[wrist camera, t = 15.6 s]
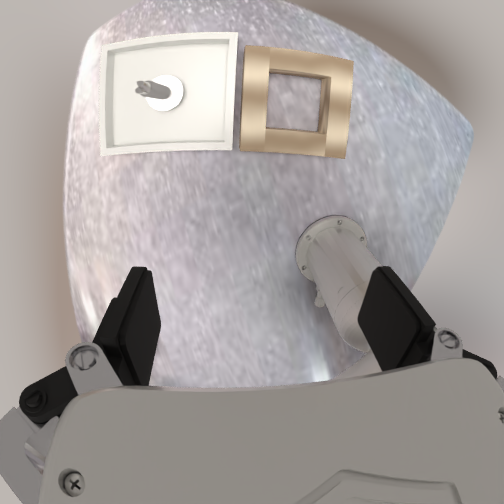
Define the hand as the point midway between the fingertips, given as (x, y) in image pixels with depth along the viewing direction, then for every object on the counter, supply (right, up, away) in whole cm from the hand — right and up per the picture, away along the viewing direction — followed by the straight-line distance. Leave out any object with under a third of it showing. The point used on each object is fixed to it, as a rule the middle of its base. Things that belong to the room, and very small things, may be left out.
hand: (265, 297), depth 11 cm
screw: (-12, +23, +20) cm, 33 cm away
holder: (+5, +22, +23) cm, 32 cm away
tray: (-12, +23, +21) cm, 33 cm away
